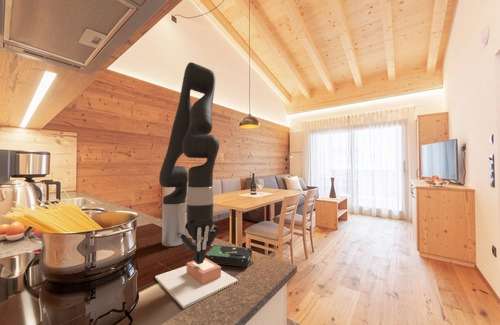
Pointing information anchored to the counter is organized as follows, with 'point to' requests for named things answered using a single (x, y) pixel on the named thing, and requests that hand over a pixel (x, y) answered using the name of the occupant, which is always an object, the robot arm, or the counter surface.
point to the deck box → (204, 271)
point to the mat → (191, 286)
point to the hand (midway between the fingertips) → (199, 262)
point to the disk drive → (229, 255)
